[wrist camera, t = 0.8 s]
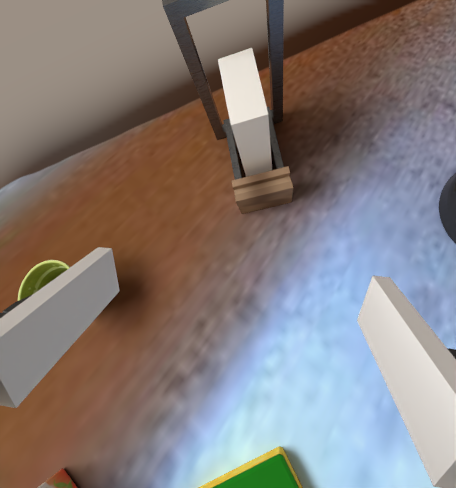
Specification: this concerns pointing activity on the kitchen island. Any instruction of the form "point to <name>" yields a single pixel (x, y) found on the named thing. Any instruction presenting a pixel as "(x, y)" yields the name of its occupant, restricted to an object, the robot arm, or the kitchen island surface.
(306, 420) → the kitchen island surface
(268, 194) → the offcut stack
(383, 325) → the robot arm
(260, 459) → the dish sponge
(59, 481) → the cracker box
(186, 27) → the frame
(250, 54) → the white block
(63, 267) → the plant pot
